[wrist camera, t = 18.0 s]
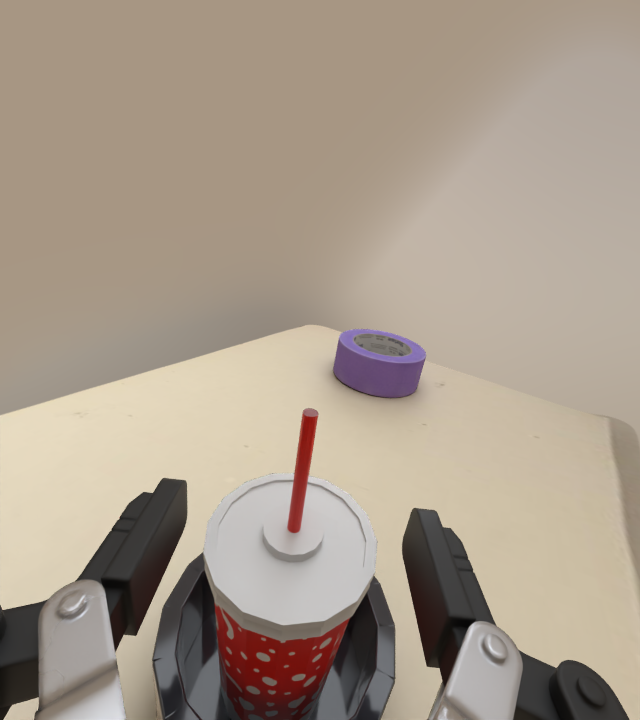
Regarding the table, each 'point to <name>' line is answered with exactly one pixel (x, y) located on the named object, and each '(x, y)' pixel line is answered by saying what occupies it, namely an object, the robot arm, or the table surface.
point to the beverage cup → (285, 585)
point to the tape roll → (378, 362)
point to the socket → (201, 660)
